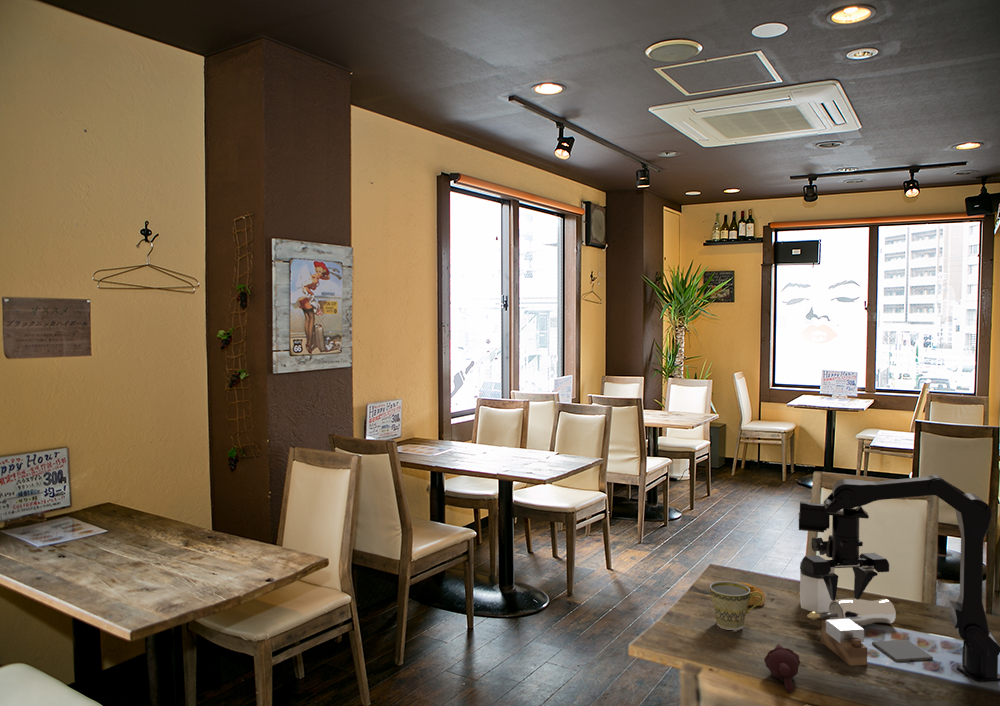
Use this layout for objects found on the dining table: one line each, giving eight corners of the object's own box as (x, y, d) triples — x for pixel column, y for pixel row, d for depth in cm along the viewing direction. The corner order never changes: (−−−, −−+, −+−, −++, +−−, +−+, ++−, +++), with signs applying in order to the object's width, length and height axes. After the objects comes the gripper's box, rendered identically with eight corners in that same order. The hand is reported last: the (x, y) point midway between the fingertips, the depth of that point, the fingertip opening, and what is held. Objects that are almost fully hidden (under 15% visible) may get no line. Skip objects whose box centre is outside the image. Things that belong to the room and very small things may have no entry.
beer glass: (900, 610, 179) (848, 613, 177) (891, 631, 182) (839, 634, 180) (883, 591, 186) (832, 593, 183) (874, 610, 188) (824, 613, 186)
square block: (863, 642, 164) (864, 629, 164) (840, 643, 164) (840, 630, 163) (848, 630, 170) (848, 618, 170) (825, 632, 170) (825, 619, 169)
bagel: (755, 611, 192) (755, 594, 192) (718, 600, 200) (718, 583, 200) (772, 602, 198) (772, 585, 198) (736, 591, 207) (736, 575, 207)
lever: (838, 619, 173) (837, 610, 173) (822, 620, 172) (820, 611, 173) (820, 619, 181) (818, 611, 182) (804, 620, 181) (802, 611, 181)
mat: (932, 659, 164) (932, 656, 164) (896, 661, 163) (896, 659, 163) (906, 641, 173) (906, 639, 173) (872, 644, 172) (872, 641, 172)
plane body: (867, 664, 162) (867, 640, 161) (850, 665, 161) (850, 641, 161) (837, 641, 173) (837, 618, 173) (821, 642, 173) (821, 619, 173)
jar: (798, 599, 200) (799, 557, 199) (830, 602, 197) (830, 560, 196) (800, 611, 191) (801, 568, 191) (833, 615, 188) (834, 571, 188)
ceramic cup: (710, 632, 179) (710, 593, 179) (708, 616, 189) (708, 579, 188) (764, 637, 176) (765, 598, 176) (759, 620, 186) (760, 583, 185)
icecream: (758, 632, 164) (764, 669, 150) (791, 628, 162) (801, 664, 148) (765, 660, 165) (773, 699, 150) (798, 656, 163) (809, 695, 148)
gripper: (862, 523, 175) (861, 585, 175) (790, 526, 173) (789, 588, 174) (891, 536, 164) (890, 602, 164) (815, 539, 162) (814, 606, 162)
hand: (844, 599), depth 166 cm, fingers open, 6 cm apart
